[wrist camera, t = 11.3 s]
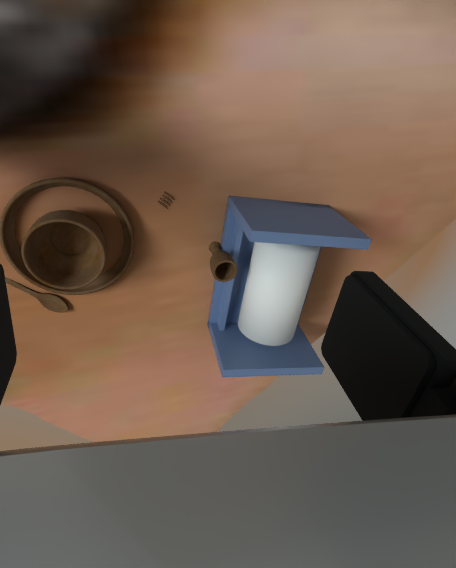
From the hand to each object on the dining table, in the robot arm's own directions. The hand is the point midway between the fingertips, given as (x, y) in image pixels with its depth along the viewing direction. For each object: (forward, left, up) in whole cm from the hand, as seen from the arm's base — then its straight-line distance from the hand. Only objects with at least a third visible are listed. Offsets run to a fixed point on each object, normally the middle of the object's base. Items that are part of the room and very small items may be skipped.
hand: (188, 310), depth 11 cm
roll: (+13, +14, -27) cm, 33 cm away
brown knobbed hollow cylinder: (+12, -3, -29) cm, 31 cm away
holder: (+13, +14, -28) cm, 34 cm away
